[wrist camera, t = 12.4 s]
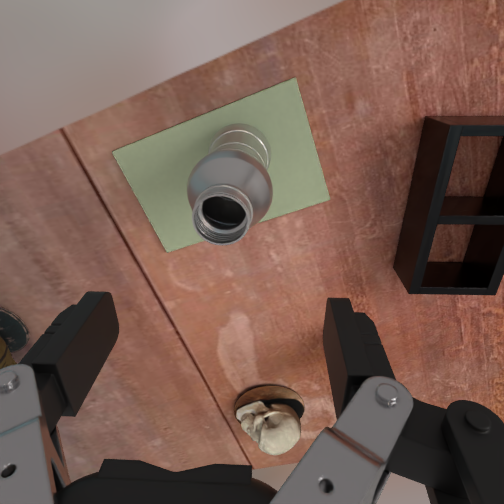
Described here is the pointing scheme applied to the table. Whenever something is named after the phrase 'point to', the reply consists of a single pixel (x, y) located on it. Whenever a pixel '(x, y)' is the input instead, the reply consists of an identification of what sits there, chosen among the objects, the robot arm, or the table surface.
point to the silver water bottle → (231, 185)
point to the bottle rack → (452, 214)
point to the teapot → (11, 336)
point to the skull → (271, 417)
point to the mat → (196, 148)
